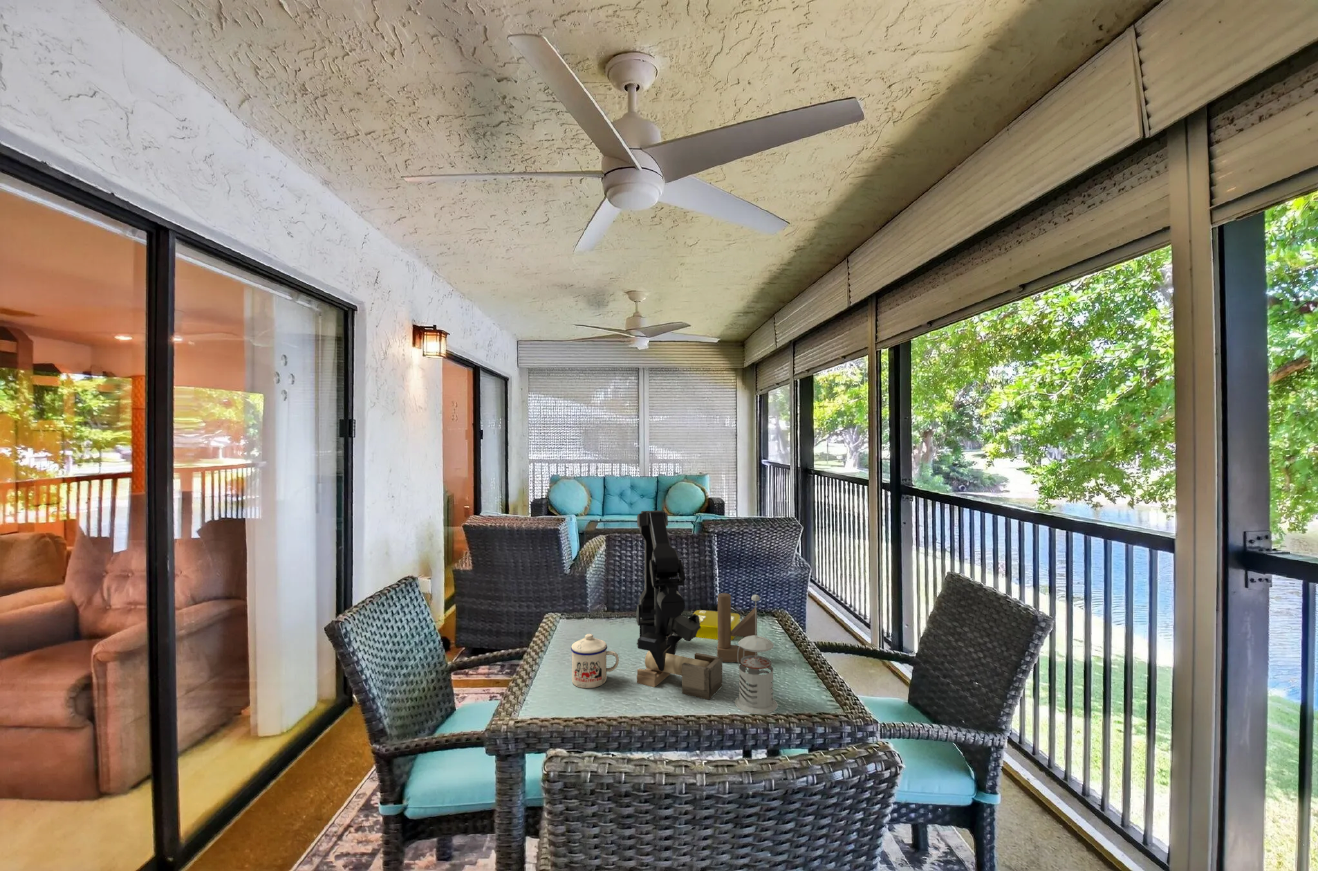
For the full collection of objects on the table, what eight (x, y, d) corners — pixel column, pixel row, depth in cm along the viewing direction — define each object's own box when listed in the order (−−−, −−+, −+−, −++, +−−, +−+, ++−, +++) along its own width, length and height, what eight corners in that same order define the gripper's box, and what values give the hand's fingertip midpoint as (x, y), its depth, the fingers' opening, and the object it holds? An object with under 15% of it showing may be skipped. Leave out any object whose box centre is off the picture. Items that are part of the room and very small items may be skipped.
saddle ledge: (636, 682, 140) (636, 670, 140) (653, 670, 147) (653, 658, 148) (654, 687, 138) (654, 674, 138) (670, 674, 145) (670, 661, 145)
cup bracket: (682, 693, 134) (681, 664, 134) (696, 680, 142) (696, 652, 142) (708, 700, 131) (708, 669, 131) (722, 685, 138) (722, 657, 138)
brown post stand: (757, 663, 152) (757, 596, 152) (717, 662, 153) (717, 596, 153) (756, 658, 156) (755, 593, 156) (717, 657, 156) (716, 592, 156)
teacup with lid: (569, 689, 137) (569, 641, 137) (572, 673, 146) (572, 629, 146) (618, 688, 137) (618, 640, 137) (619, 672, 146) (619, 627, 146)
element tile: (732, 642, 169) (732, 626, 169) (684, 637, 173) (684, 621, 173) (741, 626, 183) (741, 611, 183) (696, 622, 187) (696, 607, 187)
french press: (749, 717, 123) (749, 602, 123) (722, 695, 133) (722, 589, 133) (786, 708, 127) (786, 597, 127) (757, 687, 137) (757, 585, 137)
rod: (644, 670, 141) (644, 652, 141) (653, 664, 145) (653, 647, 145) (703, 683, 134) (703, 665, 134) (710, 677, 138) (710, 658, 138)
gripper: (677, 620, 129) (678, 688, 129) (710, 599, 145) (710, 659, 145) (636, 613, 134) (636, 678, 134) (671, 594, 151) (671, 652, 151)
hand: (665, 667), depth 141 cm, fingers closed on rod, 4 cm apart
